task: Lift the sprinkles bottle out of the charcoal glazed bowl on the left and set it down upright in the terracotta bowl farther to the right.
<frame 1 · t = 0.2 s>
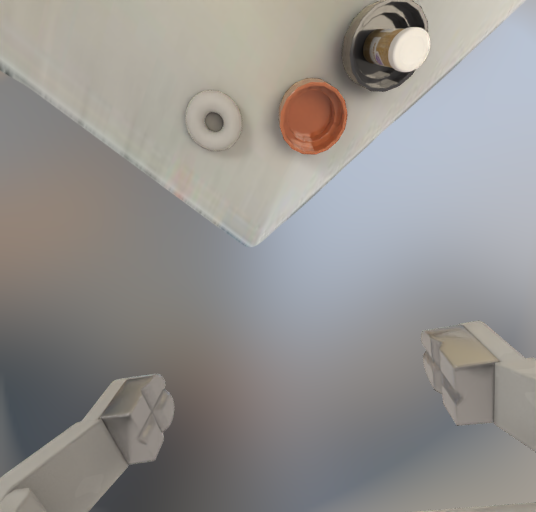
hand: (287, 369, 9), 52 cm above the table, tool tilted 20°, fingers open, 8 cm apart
sprinkles bottle: (376, 46, 46), resting on charcoal bowl
terracotta bowl: (308, 113, 52), on the table
donut: (215, 119, 52), on the table
charcoal bowl: (376, 46, 46), on the table
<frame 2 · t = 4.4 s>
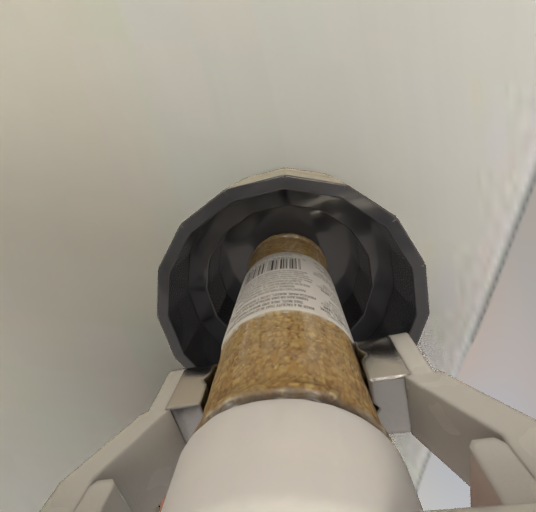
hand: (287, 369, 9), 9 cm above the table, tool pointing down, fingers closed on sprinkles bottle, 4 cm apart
sprinkles bottle: (288, 266, 17), resting on charcoal bowl, touching gripper
charcoal bowl: (288, 266, 17), on the table
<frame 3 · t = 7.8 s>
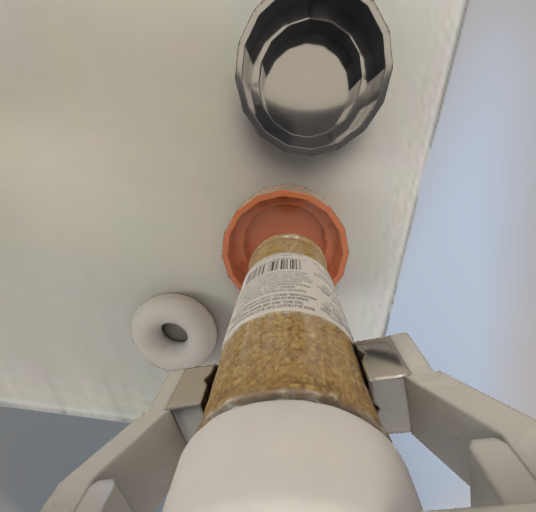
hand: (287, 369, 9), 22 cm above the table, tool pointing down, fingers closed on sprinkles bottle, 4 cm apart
sprinkles bottle: (288, 267, 17), point 14 cm above the table, touching gripper
terracotta bowl: (284, 237, 30), on the table
donut: (180, 323, 35), on the table
charcoal bowl: (307, 89, 26), on the table
when the fingers open (9 cm above the table, at t = 11.3 s): sprinkles bottle stays where it is, resting on terracotta bowl.
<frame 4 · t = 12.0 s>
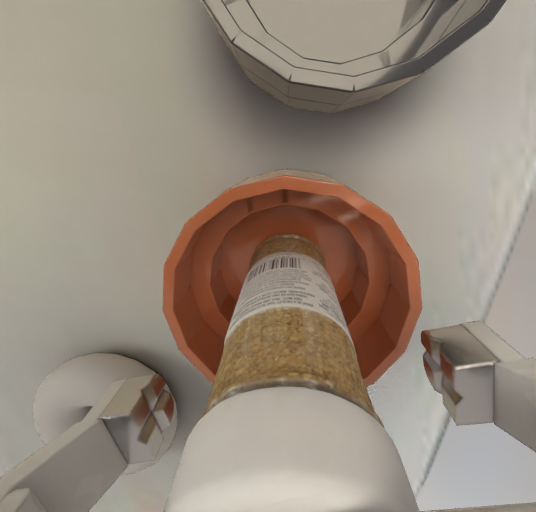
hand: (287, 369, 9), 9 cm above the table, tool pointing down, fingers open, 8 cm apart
sprinkles bottle: (288, 266, 17), resting on terracotta bowl
terracotta bowl: (287, 263, 18), on the table
donut: (122, 394, 22), on the table
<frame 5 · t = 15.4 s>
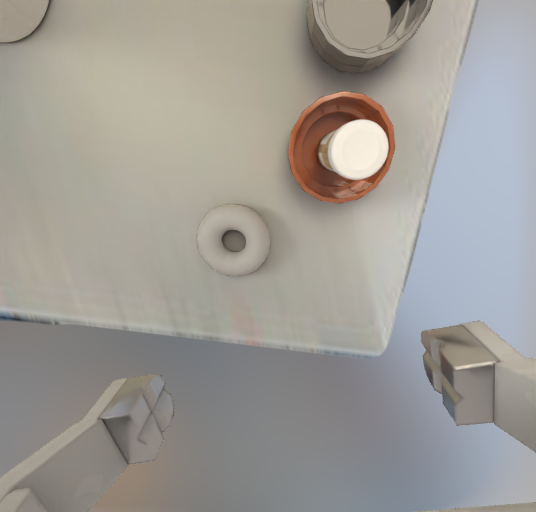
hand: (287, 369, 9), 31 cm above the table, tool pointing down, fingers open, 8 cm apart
sprinkles bottle: (333, 151, 35), resting on terracotta bowl
terracotta bowl: (333, 151, 36), on the table
donut: (236, 237, 40), on the table
charcoal bowl: (358, 13, 31), on the table
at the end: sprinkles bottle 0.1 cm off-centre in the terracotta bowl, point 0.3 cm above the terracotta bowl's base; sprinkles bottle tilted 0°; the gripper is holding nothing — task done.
